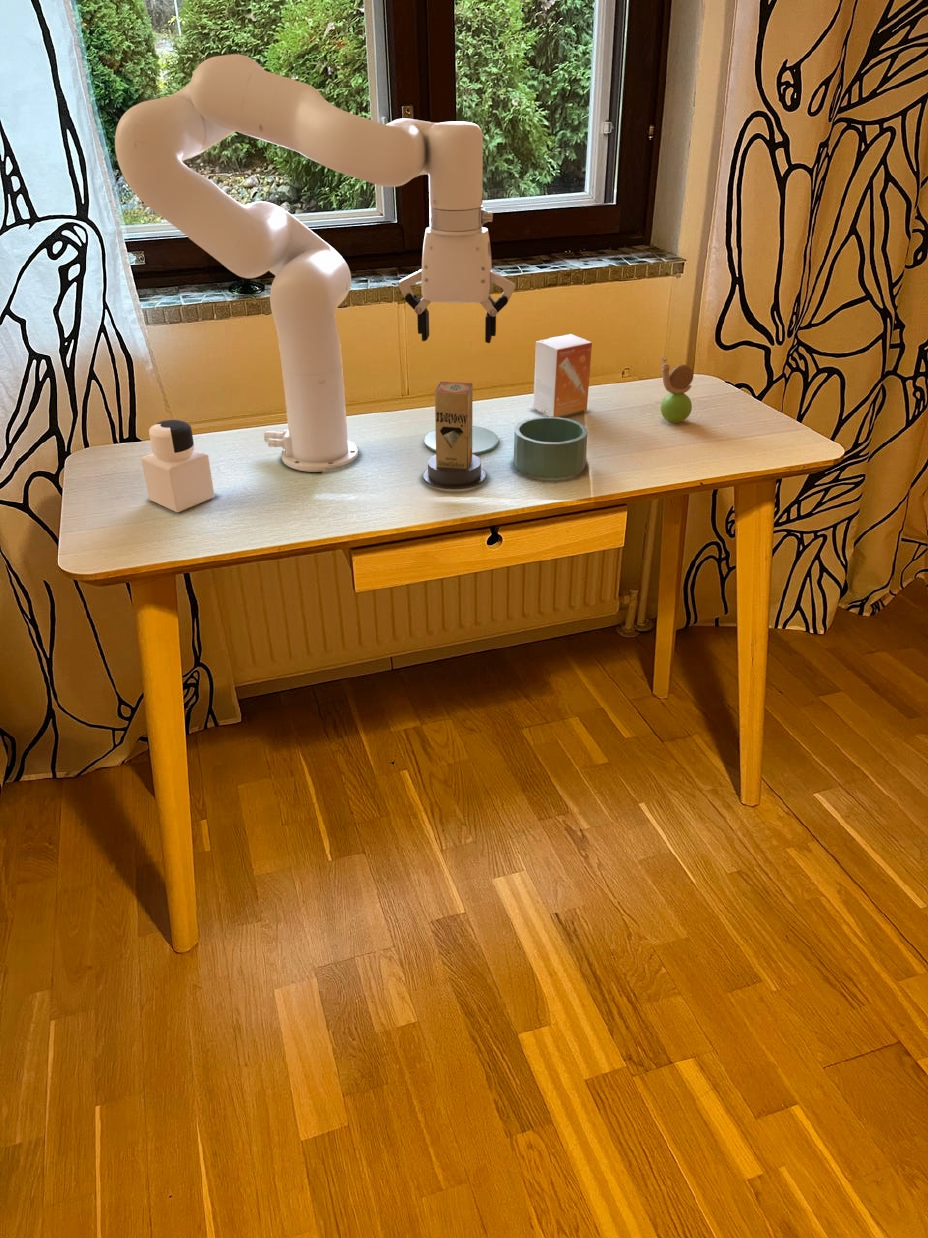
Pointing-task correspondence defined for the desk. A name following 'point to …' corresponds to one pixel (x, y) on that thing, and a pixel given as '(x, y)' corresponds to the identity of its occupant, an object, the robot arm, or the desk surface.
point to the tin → (550, 447)
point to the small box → (562, 375)
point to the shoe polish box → (453, 425)
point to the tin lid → (480, 440)
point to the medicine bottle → (176, 467)
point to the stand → (454, 475)
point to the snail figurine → (676, 392)
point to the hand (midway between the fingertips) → (457, 339)
